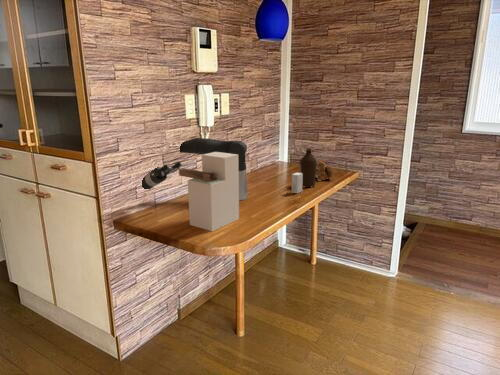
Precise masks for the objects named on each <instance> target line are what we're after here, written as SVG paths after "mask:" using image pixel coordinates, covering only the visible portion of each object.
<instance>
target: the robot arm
mask: <svg viewBox="0 0 500 375" xmlns="http://www.w3.org/2000/svg"><path fill="white" fill-rule="evenodd" d="M247 150H248V147H247V145H246V143H245V142H243V141H241V140H219V139H214V138H213V139H212V138H205V137H194V138H190V139H189V140H186V141H184V142H183V143H182V144H181V146H180V154H196V155H203V154H208V153H212V152H222V153H229V154H237V155H238V167H239V201H244V200H246V199H247V198H248V181H247V163H246V153H247ZM182 166H183V165H182V162H181V161H178V162H176V163H174V164H172V165H171V164H170V165H168V164H165V165H162V166H158V167H157V168H155V169H154V170H152V171H151V172H149V173H148V174H147V175H146V176H145V177H144V178H143V180H142V187H143V188H144V189H149V190H150V189H153V188H154V187H156V186H158V185H160V184H161V183H162V182H164V181H165V180H167V176H168V175H170V174H172V173H174V172H176V171H179V169H181V167H182Z"/></svg>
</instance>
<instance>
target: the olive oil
mask: <svg viewBox="0 0 500 375" xmlns="http://www.w3.org/2000/svg"><path fill="white" fill-rule="evenodd" d="M317 163H318V161H317V160H316V157H315V156H314V155H313V154H312V147H306V150H305V155H303V156H302V157H301V159H300V161H299V173H303V182H302V186H305V187H311V186H314V185H316V179H315V177H316V169H317V167H316V166H317ZM305 187H304V188H305ZM314 187H315V186H314Z"/></svg>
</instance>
